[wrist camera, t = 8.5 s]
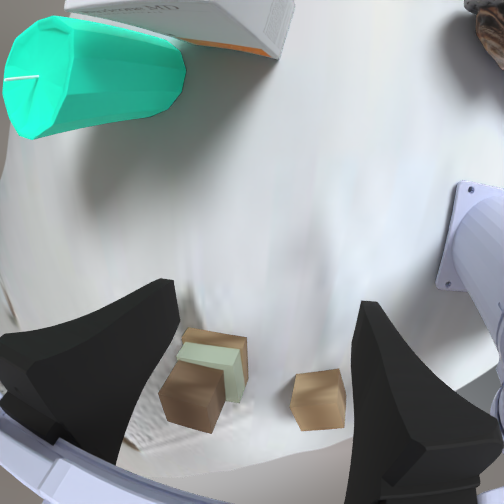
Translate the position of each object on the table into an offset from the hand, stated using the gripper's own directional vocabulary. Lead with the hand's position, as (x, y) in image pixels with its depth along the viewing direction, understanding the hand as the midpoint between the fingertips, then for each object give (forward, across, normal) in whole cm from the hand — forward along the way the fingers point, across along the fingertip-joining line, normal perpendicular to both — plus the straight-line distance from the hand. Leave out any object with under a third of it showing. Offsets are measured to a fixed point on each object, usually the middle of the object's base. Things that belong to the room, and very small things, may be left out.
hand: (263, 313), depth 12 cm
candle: (+11, +10, -10) cm, 18 cm away
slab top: (+9, +6, +14) cm, 18 cm away
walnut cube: (+7, +6, +14) cm, 17 cm away
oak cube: (+10, -4, +16) cm, 19 cm away
